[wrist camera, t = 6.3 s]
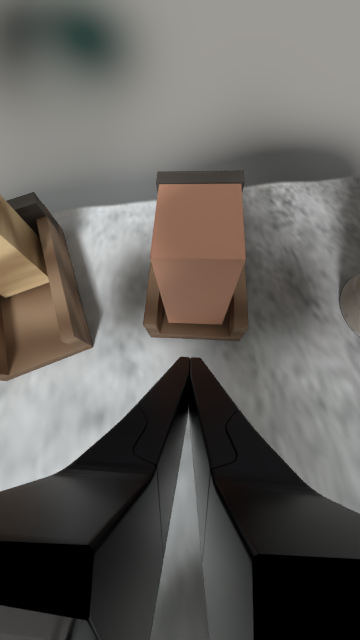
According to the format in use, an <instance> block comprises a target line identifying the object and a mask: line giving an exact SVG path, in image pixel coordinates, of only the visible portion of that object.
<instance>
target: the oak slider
mask: <svg viewBox="0 0 360 640" xmlns="http://www.w3.org/2000/svg"><path fill="white" fill-rule="evenodd" d="M46 283H49V279H48V274H47V269H46V264H45V259H44V255H43V250H42V245H41V240H40V238H39V237H38V235H37V234H36V233H35V232H34V231H33V230H32V229H31V228H30V227H29V226H28V225H27V223H26V222H25V221H24V220H23V219H22V218H21V217H20V216H19V215H18V214H17V213H16V211H15V210H14V209H13V208H12V207H11V206H10V205H9V204H8V203H7V202H6V201H5V199H4V198H2V196H1V195H0V295H1V296H3V297H5V298H7V297H10V296H12V295H15V294H18V293H21V292H24V291H26V290H29V289H32V288H35V287H38V286H40V285H43V284H46Z"/></svg>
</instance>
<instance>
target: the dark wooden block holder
mask: <svg viewBox="0 0 360 640" xmlns="http://www.w3.org/2000/svg"><path fill="white" fill-rule="evenodd" d="M159 184H241V186H242V191H243V186H244V171H181V172H180V171H179V172H178V171H176V172H175V171H173V172H158V173H157V181H156V185H157V191H158V189H159ZM143 325H144V327H145V328H146V330H147V332H148V333H149V335H150V336H151V337H159V338H185V339H211V340H237V341H239V340H240V339H241V338H242V336H243V335H244V333H245V332H246V331H247V329H248V328H249V327H248V310H247V293H246V275H245V263H244V266H243V268H242V271H241V274H240V276H239V279H238V282H237V285H236V287H235V290H234V293H233V295H232V298H231V301H230V304H229V306H228V309H227V312H226V314H225V317H224V320H223V323H222V325H220V324H191V323H169V322H168V318H167V315H166V312H165V308H164V305H163V301H162V298H161V294H160V291H159V287H158V284H157V280H156V277H155V273H154V270H153V266H152V263H150V271H149V280H148V288H147V296H146V304H145V313H144V321H143Z"/></svg>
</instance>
